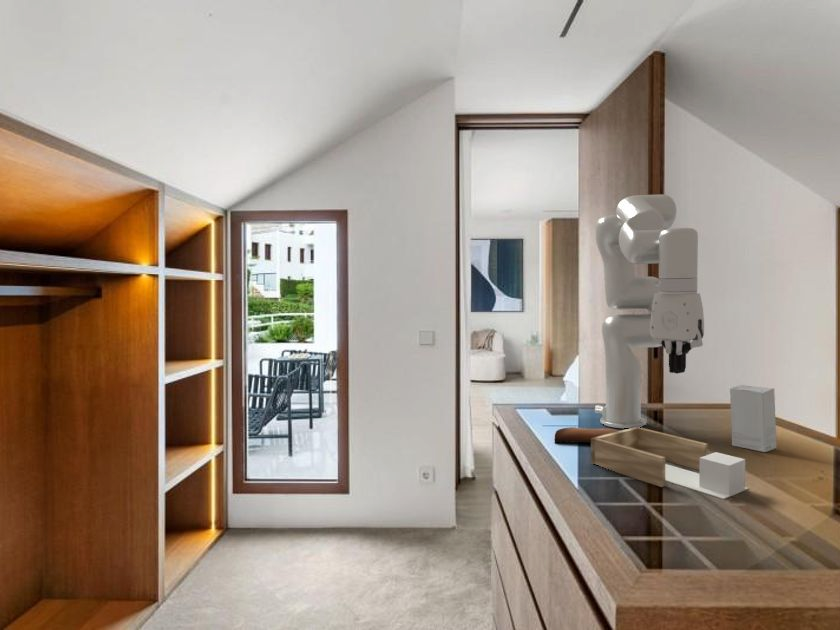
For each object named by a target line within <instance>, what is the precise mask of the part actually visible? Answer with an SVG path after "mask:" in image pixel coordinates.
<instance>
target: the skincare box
mask: <svg viewBox="0 0 840 630" xmlns="http://www.w3.org/2000/svg"><path fill="white" fill-rule="evenodd" d="M729 397H730V398H729V399H730V401H729V402H730V422H731V423H730V424H731V445H732V446H733V447H737V448H743V449H748V450H753V451H757V452H762V453H767V452H769V451H773V450H776V449H777V422H776V419H777V418H776V402H775V401H776V397H775V388H773V387H761V386H752V385H745V384H741V385H737V386H734V387H731V388H729ZM732 446H731V447H732Z"/></svg>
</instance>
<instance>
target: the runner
mask: <svg viewBox="0 0 840 630" xmlns="http://www.w3.org/2000/svg"><path fill="white" fill-rule="evenodd" d="M665 482H667V483H670V484H674V485H677V486H680V487H683V488H686V489H690V490H693V491H695V492H699V493H702V494H705V495H709V496H712V497H715V498H718V499H721V500H725V499H728V498H730V497H732V496H735V495H737V494H740V493H742V492H744V491H747V490H749V487H746V486H745V489H743V490H741V491H738V492H736V493H734V494H731V495H729V496H728V495H725V494H722V493H719V492H715V491H712V490H709V489H705V488H702V487H699V472H695V471H691V470H688V469H683V468H681V467H677V466H674V465H670V464H668V463H665Z"/></svg>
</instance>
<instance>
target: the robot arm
mask: <svg viewBox="0 0 840 630" xmlns="http://www.w3.org/2000/svg"><path fill="white" fill-rule="evenodd" d="M676 217H677V204H676V203H675V200H674V198H672V197H671V196H669V195H668V194H637V195H631V196H627V197H625V198H623V199H621V201H619V203H618V204H617V207H616V213H615V214H611V215H605V216H602V217H601V218H600V219H599V220H597V222H596V225H595V240H596V246H597V248H598V251H599V255H600V256H601V259H602V262H603V263H602V264H603V273H604V277H603V278H604V292H605V301H606V305H607V306H608V307H609V308H610V309H611V310H617V311H631V310H632V311H635V310H636V311H637V310H640V311H641V310H642V311H643V310H644V311H645V313H646V314H645V313H643V314H634V313H633V314H632V313H627V314H614V315H610V316H608V317H606V318H605V319H604V320H603V321H602V324H601V325H602V326H601V333H602V339H603V346H604V356H605V359H604V360H605V405H604V406H603V405H599V404H596V405H595V407H594V413H596V414H601V415H602V416H600V421H599V422H600V424H602V425H603V424H604V425H603V426H606V427H610V428H615V429H624V428H631V427H639V426H643V425H645V424H646V423H647V419H646V418H643V417H641V416H642V415H641V413H642V412H641V411H642V410H641V409H642V408H641V407H642V406H641V403H642V397H641V396H642V393H641V392H642V391H641V390H642V385H641V383H642V382H641V378H642V377H641V373H642V370H641V368H642V367H641V362H640V360H639V357H637V356H636V355H635V353H634V352H633V351H632V349H636V348H640V349H641V348H659V347H663V348H664V350H665V352H666V353H667V354H668V369H669V370H668V371H669V373H671V374H677V375H678V374H682V373H685V372H686V369H687V355H688V354H689V353H690V351H691V350H692V349H693V348H700V347H703V345H704V344H703V343H704V342H703V338H704V335H705V316H704V307H703V302H702V301H703V300H702V297H701V293H699V292H698V266H699V265H698V260H699V259H698V258H699V255H698V254H699V250H698V249H699V237H698V231H697V230H696V229H695V228H693V227H673V228H672V225H673V224H674V222H675V220H676ZM646 264H648V265H651V264H658V277H655V276H637V273H636V265H646ZM646 425H647V424H646Z"/></svg>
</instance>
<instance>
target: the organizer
mask: <svg viewBox="0 0 840 630" xmlns="http://www.w3.org/2000/svg"><path fill="white" fill-rule="evenodd" d="M706 455H709V443H706V442H702V441H698V440H694V439H690V438H685V437H682V436H681V437H680V436H677V435H673V434H669V433H665V432H661V431H657V430H652V429H648V428H644V427H641V428H640V427H633V428H629V429H622V430H618V431H617V432H614V433H610V434H606V435H602V436H598V437H594V438H591V443H590V464H591V463H593V464H596V465H599V466H601V467H600V468H602V467H604V468H603V469H605V468H606V470H608V469H609V470H608V471H611V470H612V472H614V471H615V472H614V473H618V474H620V475H623V476H625V477H626V476H627V477H630V478H633V479H635V480H639V481H643V482H645V483H648V484H651V485H653V486H657V487H660V488H664V487H666V481H665V464H666V462H668V461H669V462H670V463H673V464H676V465H680V466H683V467H687V468H690V469H694V470H696V471H697V470H698V471H699V464H700V457H703V456H706ZM669 462H668V463H669ZM593 464H592V465H593ZM596 465H595V466H596ZM599 466H598V467H599Z"/></svg>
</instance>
